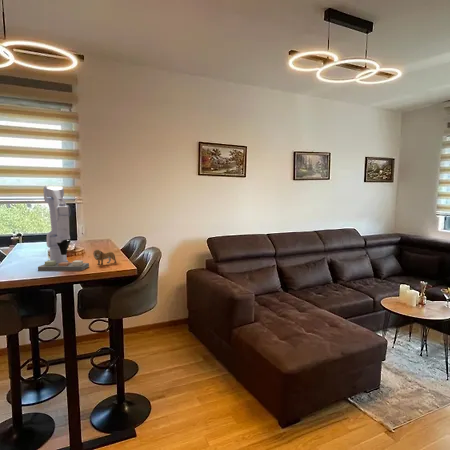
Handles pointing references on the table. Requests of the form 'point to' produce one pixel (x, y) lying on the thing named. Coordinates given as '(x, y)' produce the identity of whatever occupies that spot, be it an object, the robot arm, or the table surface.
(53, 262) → the sage button
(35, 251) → the table surface
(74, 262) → the cream button
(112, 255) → the lion figurine
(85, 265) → the button panel
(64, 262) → the terracotta button
